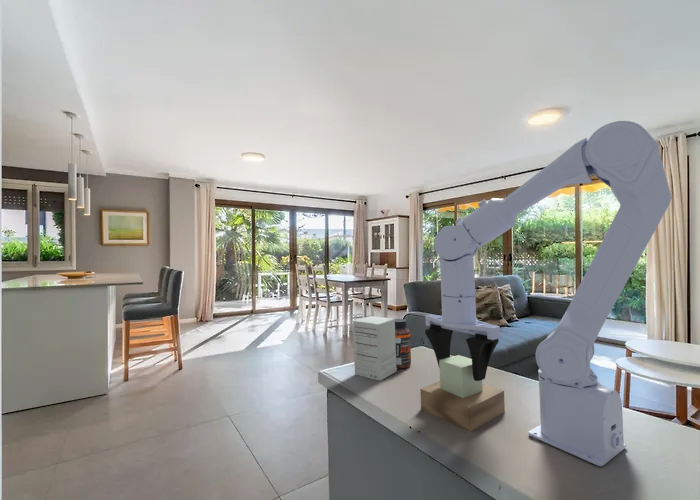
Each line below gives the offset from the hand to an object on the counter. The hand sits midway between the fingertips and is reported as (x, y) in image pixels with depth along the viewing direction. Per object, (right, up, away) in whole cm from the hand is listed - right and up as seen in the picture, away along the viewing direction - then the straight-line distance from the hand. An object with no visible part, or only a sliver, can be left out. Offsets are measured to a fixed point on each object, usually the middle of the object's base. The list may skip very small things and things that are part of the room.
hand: (460, 373), depth 59 cm
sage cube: (0, -3, 0) cm, 3 cm away
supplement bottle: (-7, -7, +25) cm, 27 cm away
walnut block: (0, -7, 0) cm, 7 cm away
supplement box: (-13, -8, +20) cm, 25 cm away
